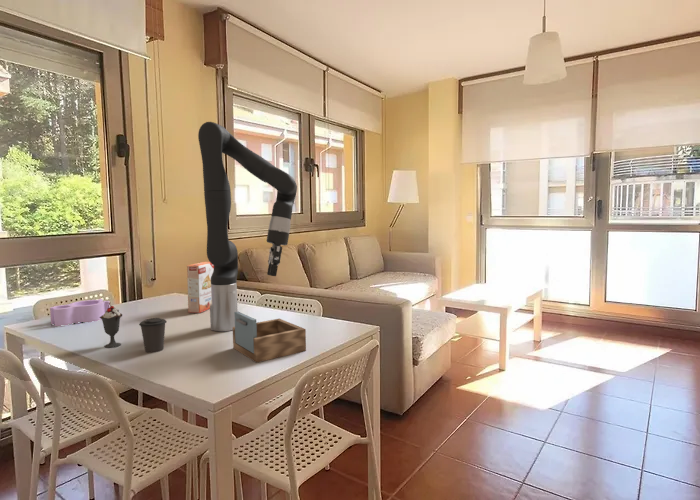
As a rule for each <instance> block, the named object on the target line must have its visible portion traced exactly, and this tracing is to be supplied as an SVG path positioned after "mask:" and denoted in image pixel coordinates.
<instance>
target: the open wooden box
mask: <svg viewBox="0 0 700 500" xmlns="http://www.w3.org/2000/svg"><path fill="white" fill-rule="evenodd" d="M256 325H257V338H254V353H252V352H250V351H249V350H247V349H245V348H244V347H242V346H240V345H239V344H237V343H235V327H233V330H232V344H233V345H232V349H233V350H236V351H237V352H239V354H240V353H241V354H242V355H243V356H245V357H247V358H249V359H250V360H252V361H254V362H255V363H261V362H265V361H269V360H273V359H277V358H282V357H285V356H291V355H294V354H298V353H302V352H306V351H307V339H306V338H307V335H306V333H307V331H306V330H307V329H306V328H303V327H302V326H299V325H296V324H294V323H292V322H289V321H287V320H284V319H282V318H275V319H270V320H264V321H260V322H259V321H258V322H257V321H256Z"/></svg>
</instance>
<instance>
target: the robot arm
mask: <svg viewBox="0 0 700 500" xmlns="http://www.w3.org/2000/svg"><path fill="white" fill-rule="evenodd" d="M197 136H198V143H199V149H200V155H201V161H202V162H201V163H202V178H203V191H204V192H203V195H204V197H203V198H204V207H205V217H206V228H207V233H206V235H207V236H206V258H207V259H208V262H210V263H211V264H213V265H214V270H213V274H212V276H211V298H212V304H211V305H210V309H209V317H210V318H209V319H210V321H209V322H210V331H216V332H229V331H230V332H231V331H233V327H235V314H234V312H239V310H238V287H237V286H238V285H237V284H238V283H237V282H238V280H237V279H238V273H239V254H238V253H239V252H238V247H237V246H236V244H235V243H234V242H233V241H231V240H229V234H228V233H229V232H228V227H229V220H230V219H229V218H230V216H231V209H232V195H231V194H232V193H231V190H232V189H231V185H230V181H229V178H228V175H227V172H226V169H225V165H224V162H223V160H224V159H223V154H225V155H226V156H228V157H230V158H232V159H233V160H235V161H236V163H238V164H239V165H241V166H242V168H244V169H245V170H246V171H247V172H249V173H250V174H251V175H253V176H254V177H256V178H257V179H259V180H260V181H261V182H264V183H266V184H268V185H270V186H271V187H272V188H274V189H275V190H276V191H277V193H276V199H275V202H274V203H273V206H272V209H271V210H272V211H271V216H270V220H269V223H268V230H267V236H266V242H267V243H269V244H272V245H271V246H270V248H269V251H268V252H269V254H268V260H267V264H268V267H267V272H266V275H267V276H271V277H276V276H277V273H278V268H279V265H280V264H281V258H282V252H283V246H288V243H289V238H290V233H291V232H290V231H291V225H292V224H291V223H292V221H291V220H292V216H293V207H294V203H295V200H296V197H297V196H296V195H297V190H298V186H297V185H298V184H297V182H296V180H295V178H294V177H293V176H292V175H291V174H289V173H288V172H286V171H284V170H282V169H280V168H278V167H276V166H275V165H274V164H273V163H272V162H269V161H268V160H266V159H265V158H264V157H262V156H261V155H259V154H258V153H256V152H255V151H252V150H251V149H249V148H248V147H246V146H245V145H244V144H242V143H241V142H240V141H239V140H238V139H236V138H235V136H234V135H233V134H231V132H229V131H228V130H227V129H226V127H224V126H223V125H220V124H218V123H216V122H213V121H206V122H204V123H202V125H201V126H200V127H199V130H198V134H197Z"/></svg>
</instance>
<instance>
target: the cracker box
mask: <svg viewBox="0 0 700 500" xmlns="http://www.w3.org/2000/svg"><path fill="white" fill-rule="evenodd" d="M213 270H214V265H213V264H211V263H210V261H201V262H198V263H197V262H196V263H192V264H187V265H186V275H187V278H186V279H187V301H188V302H187V305H188V308H187V309H188V310H187V311H188V314H189V313H191V314H192V313H193V314H201V313H203V312H205V311H208V310H210V305H211V304H212V298H211V276H212V274H213Z"/></svg>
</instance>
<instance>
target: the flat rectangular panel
mask: <svg viewBox="0 0 700 500" xmlns="http://www.w3.org/2000/svg"><path fill="white" fill-rule="evenodd" d="M234 314H235V343H237V344H239V345H240V346H242V347H244V348H245V349H247V350H249V351H250V352H252V353H254V338H257V325H256V323H257V319H256V318H253V317H251V316H249V315H247V314H244V313H242V312H241V311H238V312H234Z"/></svg>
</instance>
